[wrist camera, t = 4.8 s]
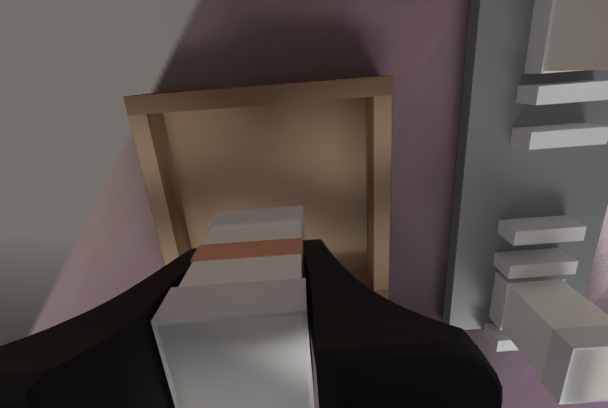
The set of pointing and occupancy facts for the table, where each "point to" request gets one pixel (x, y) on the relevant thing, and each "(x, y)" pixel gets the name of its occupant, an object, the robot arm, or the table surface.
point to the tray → (273, 163)
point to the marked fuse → (241, 316)
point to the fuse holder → (522, 169)
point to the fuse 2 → (555, 334)
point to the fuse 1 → (568, 36)
